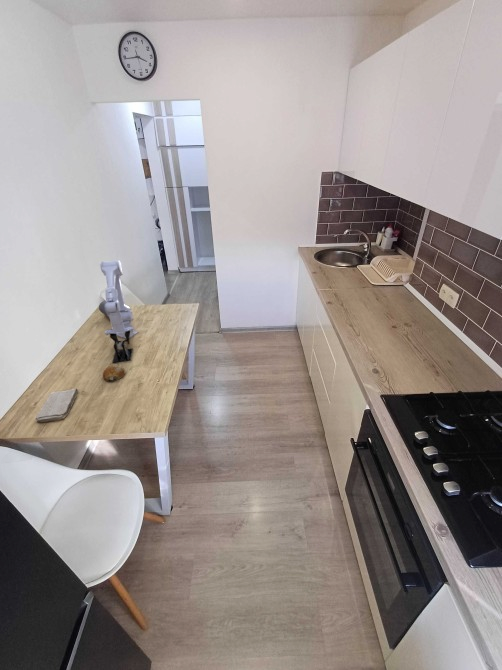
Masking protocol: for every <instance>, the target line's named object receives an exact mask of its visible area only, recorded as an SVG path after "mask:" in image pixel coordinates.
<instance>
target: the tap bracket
mask: <svg viewBox="0 0 502 670" xmlns="http://www.w3.org/2000/svg"><path fill="white" fill-rule="evenodd" d="M125 340H126V339H124V340H123V341H122V340H121V341H122V349H118V348H117V341H116V342H115V341H114V343H113V349H114V355H113V360H112V364H119V363H125V362H131V361H132V356H133V351H134V348H132V347H130V348H128V346H127V344H126V343H127V342H125Z"/></svg>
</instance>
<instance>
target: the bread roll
mask: <svg viewBox="0 0 502 670" xmlns="http://www.w3.org/2000/svg"><path fill="white" fill-rule="evenodd" d="M125 373H126V372H125V369H124V367H123V366H122V365H120V364H119V363H110V364H108V365H107V366H106V367H105V368H104V369H103V372H102V377H103V380H104V381H105V382H108V383H113V382H116V381H120V379H122V378H123V377H124V376H125Z"/></svg>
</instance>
